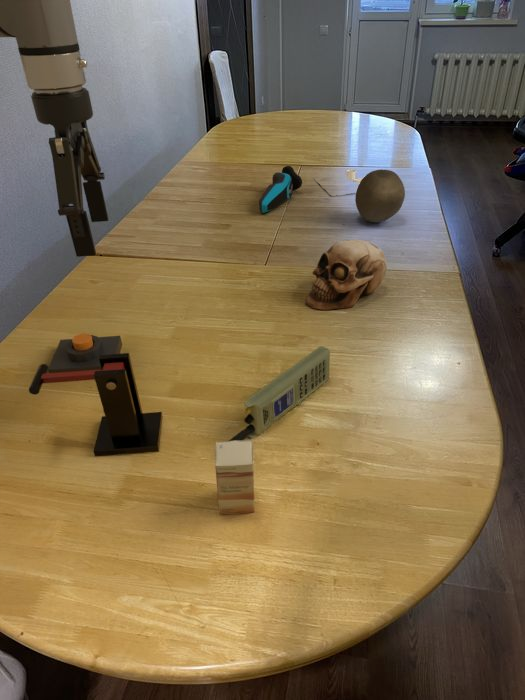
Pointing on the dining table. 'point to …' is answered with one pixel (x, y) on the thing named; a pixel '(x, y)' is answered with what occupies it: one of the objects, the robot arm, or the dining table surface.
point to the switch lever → (66, 375)
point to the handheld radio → (285, 392)
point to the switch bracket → (123, 412)
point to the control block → (83, 354)
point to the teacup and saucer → (352, 176)
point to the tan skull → (346, 274)
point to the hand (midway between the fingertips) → (93, 237)
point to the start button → (82, 342)
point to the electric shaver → (280, 189)
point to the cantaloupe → (379, 195)
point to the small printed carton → (235, 476)
